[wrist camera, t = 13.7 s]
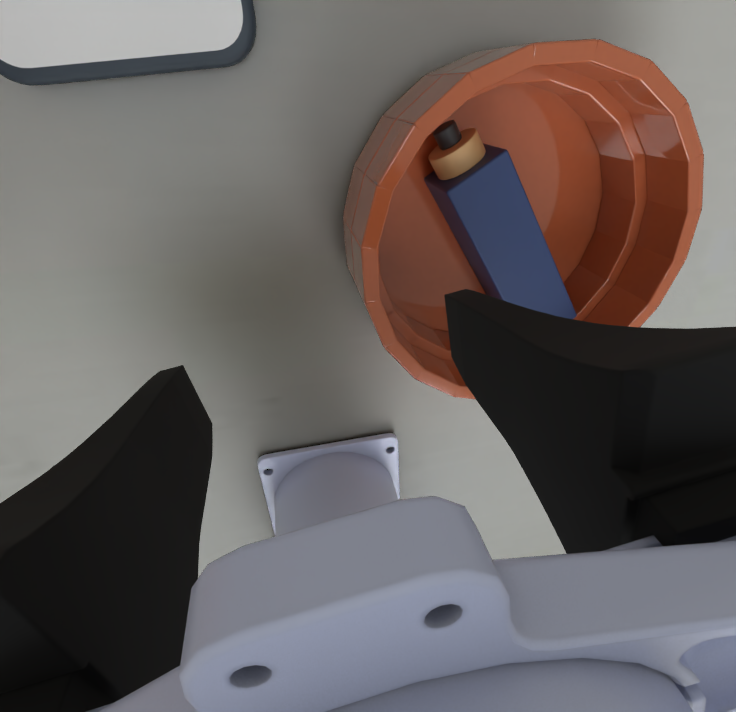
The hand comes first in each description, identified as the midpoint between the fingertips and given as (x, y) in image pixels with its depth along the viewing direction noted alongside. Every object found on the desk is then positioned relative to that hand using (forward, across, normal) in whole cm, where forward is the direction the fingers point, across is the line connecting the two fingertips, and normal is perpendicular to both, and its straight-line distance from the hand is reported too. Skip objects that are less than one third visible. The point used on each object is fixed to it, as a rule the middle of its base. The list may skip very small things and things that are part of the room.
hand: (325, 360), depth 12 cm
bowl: (+9, -8, +1) cm, 13 cm away
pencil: (+9, -8, +1) cm, 12 cm away
